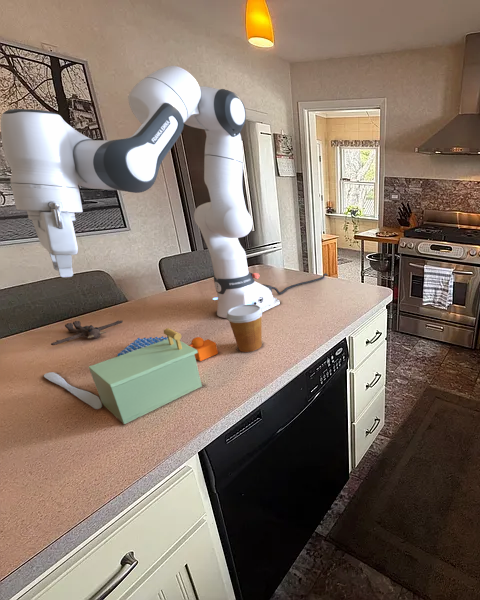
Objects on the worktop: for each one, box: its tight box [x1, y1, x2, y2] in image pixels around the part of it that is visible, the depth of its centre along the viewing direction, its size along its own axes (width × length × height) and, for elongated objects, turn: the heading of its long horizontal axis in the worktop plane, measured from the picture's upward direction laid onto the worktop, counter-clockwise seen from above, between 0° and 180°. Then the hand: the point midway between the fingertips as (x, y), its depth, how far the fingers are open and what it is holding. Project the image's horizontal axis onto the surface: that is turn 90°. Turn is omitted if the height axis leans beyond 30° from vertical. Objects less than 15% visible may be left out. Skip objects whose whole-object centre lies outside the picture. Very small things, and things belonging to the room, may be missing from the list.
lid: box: [88, 327, 198, 388], centre depth 71 cm, size 16×12×5 cm
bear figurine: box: [50, 319, 124, 346], centre depth 102 cm, size 18×4×14 cm
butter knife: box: [43, 371, 103, 410], centre depth 76 cm, size 1×27×3 cm
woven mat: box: [116, 336, 168, 357], centre depth 93 cm, size 10×11×2 cm
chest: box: [89, 355, 203, 425], centre depth 74 cm, size 16×12×9 cm
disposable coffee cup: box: [225, 304, 264, 353], centre depth 95 cm, size 10×10×12 cm
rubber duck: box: [188, 336, 219, 362], centre depth 90 cm, size 6×4×6 cm, turn 147°
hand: (63, 273), depth 66 cm, fingers open, 8 cm apart
